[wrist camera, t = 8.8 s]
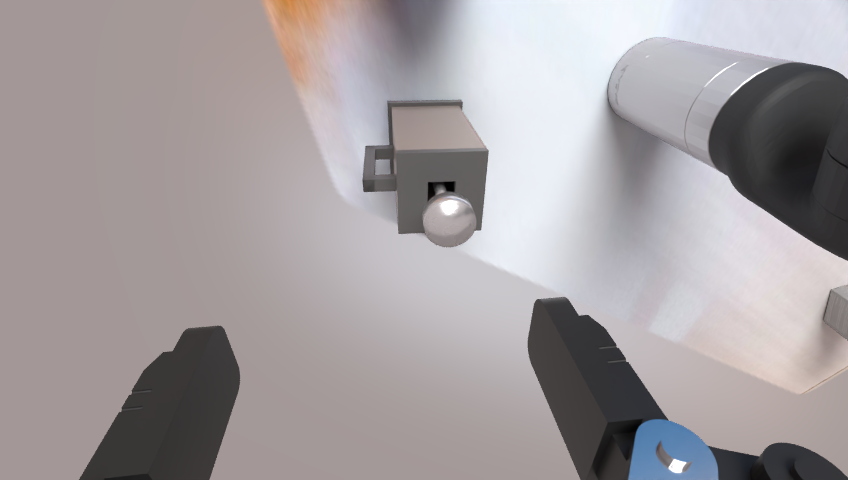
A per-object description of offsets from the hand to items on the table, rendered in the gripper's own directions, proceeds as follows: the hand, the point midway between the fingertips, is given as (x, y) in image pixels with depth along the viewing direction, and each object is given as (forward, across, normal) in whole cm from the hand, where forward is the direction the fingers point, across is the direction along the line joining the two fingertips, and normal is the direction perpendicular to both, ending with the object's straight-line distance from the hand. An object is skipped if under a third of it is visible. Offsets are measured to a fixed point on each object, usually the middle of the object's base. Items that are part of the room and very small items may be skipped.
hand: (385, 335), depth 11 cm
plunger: (+35, -5, +7) cm, 37 cm away
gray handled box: (+39, -4, +7) cm, 40 cm away
